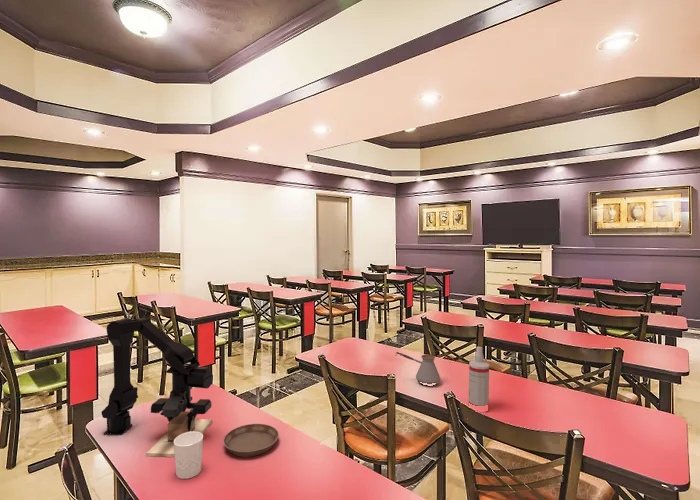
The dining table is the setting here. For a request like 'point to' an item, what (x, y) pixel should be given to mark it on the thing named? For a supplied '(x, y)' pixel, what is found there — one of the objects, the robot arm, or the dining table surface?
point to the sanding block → (178, 426)
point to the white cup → (188, 454)
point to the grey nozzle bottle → (479, 380)
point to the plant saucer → (250, 439)
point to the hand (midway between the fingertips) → (181, 430)
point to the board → (167, 448)
